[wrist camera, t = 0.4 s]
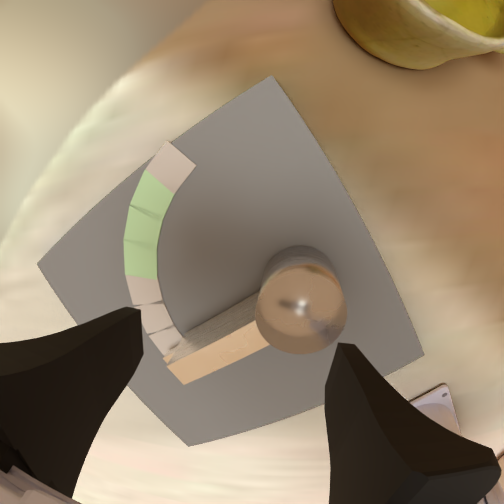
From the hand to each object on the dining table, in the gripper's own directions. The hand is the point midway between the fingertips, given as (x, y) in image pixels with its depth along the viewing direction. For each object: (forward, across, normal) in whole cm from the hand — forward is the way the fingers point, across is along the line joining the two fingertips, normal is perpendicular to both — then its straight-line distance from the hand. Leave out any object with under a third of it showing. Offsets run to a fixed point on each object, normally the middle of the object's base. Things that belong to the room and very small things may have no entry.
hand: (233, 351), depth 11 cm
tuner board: (+10, +3, +4) cm, 11 cm away
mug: (+10, -9, -17) cm, 22 cm away
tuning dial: (+9, +1, +3) cm, 9 cm away
